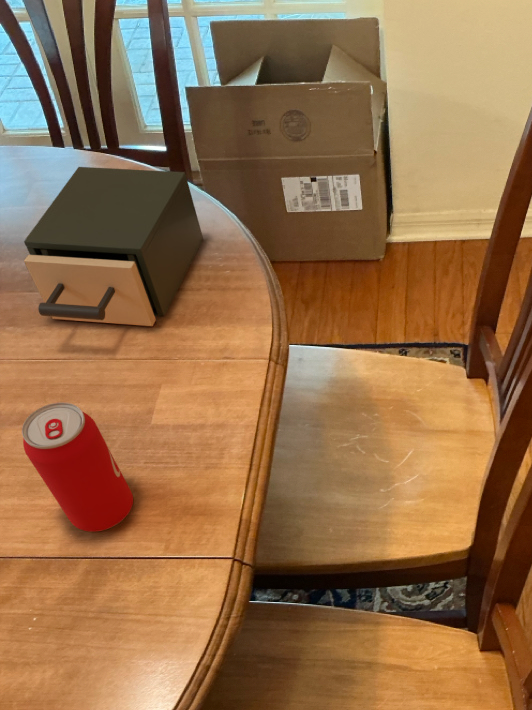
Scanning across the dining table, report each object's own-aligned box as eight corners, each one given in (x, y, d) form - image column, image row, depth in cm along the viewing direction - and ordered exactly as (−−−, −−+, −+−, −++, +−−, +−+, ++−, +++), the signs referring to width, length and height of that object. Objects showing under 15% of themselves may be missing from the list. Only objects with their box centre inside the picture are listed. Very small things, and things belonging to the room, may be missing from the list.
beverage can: (131, 478, 77) (87, 390, 67) (139, 525, 73) (93, 439, 64) (68, 495, 76) (13, 408, 66) (72, 543, 72) (16, 459, 63)
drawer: (137, 354, 86) (114, 296, 80) (34, 346, 88) (3, 288, 81) (190, 252, 97) (173, 193, 91) (98, 246, 99) (75, 188, 92)
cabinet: (165, 320, 91) (140, 248, 83) (58, 312, 92) (23, 241, 85) (204, 243, 100) (185, 171, 92) (105, 237, 101) (78, 166, 94)
